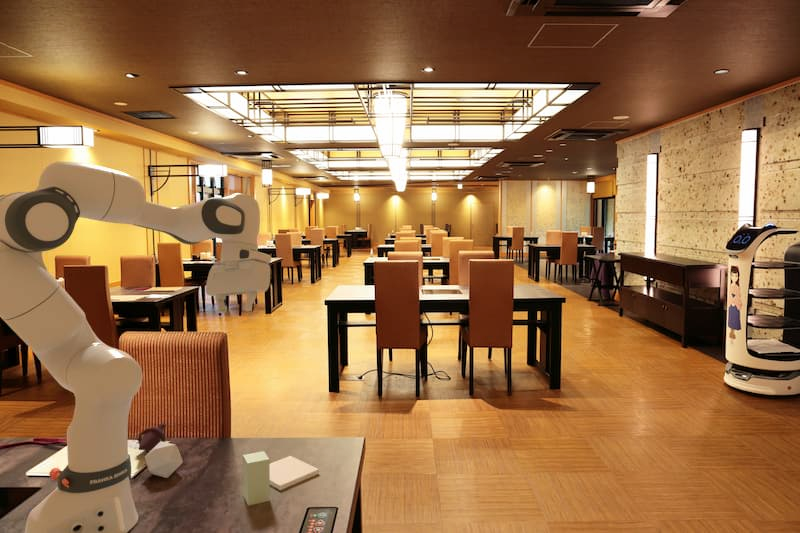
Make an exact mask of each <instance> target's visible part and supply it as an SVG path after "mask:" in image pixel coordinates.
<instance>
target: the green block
mask: <svg viewBox="0 0 800 533" xmlns="http://www.w3.org/2000/svg"><path fill="white" fill-rule="evenodd" d="M269 464H270V458H269V457H268V455H267V453H266V451H263V450H262V451H257V452H252V453H247V454H242V493H243V494H242V495H243V498H244V501H245V502H246V505H247V507H250V506H253V505H257V504H262V503H266V502H270V500H271V499H270V497H271V495H270V494H271V493H270V492H271V490H270V488H271V485H270V466H269Z"/></svg>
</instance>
